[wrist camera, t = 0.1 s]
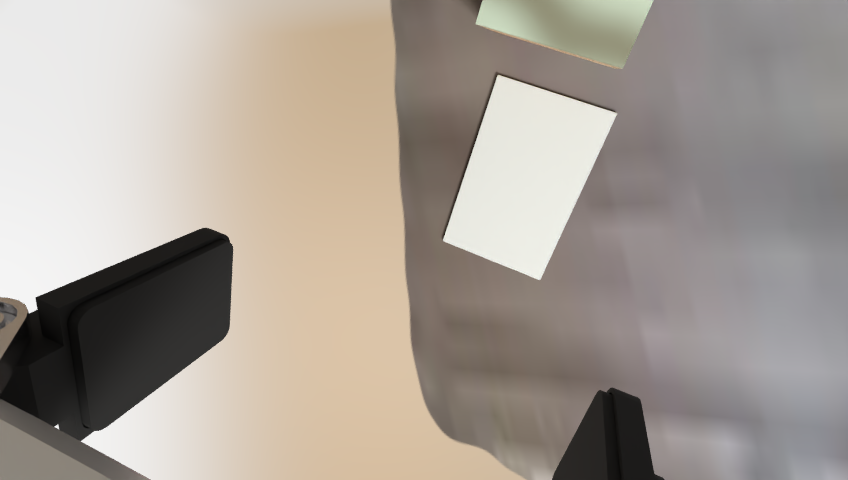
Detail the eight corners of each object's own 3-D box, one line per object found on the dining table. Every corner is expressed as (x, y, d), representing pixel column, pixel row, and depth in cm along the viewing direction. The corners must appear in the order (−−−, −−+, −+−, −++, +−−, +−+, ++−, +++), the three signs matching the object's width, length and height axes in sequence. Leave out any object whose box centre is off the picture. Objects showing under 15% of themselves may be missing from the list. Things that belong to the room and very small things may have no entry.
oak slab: (511, -24, 34) (495, -44, 28) (640, 12, 32) (654, -1, 26) (494, 31, 36) (475, 23, 30) (615, 68, 34) (622, 68, 28)
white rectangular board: (498, 74, 37) (497, 74, 36) (616, 113, 35) (617, 113, 34) (443, 239, 43) (442, 240, 43) (540, 278, 42) (539, 280, 41)
